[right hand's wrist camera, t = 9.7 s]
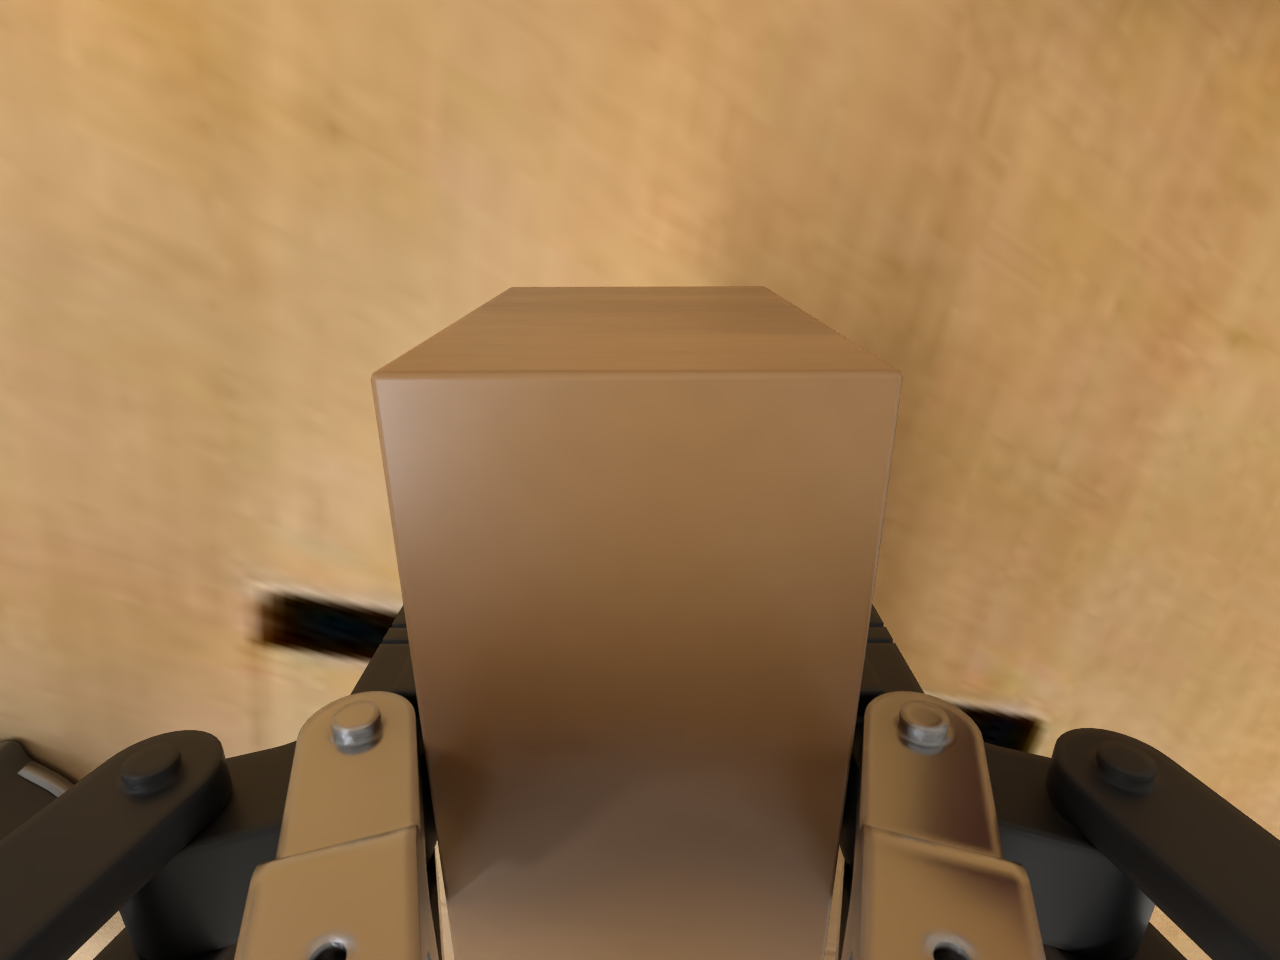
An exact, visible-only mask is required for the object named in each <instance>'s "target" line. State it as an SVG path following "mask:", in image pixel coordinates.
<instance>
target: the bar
mask: <svg viewBox="0 0 1280 960" xmlns="http://www.w3.org/2000/svg"><path fill="white" fill-rule="evenodd" d="M371 383H372V390H373V397H374V404H375V411H376V418H377V425H378V432H379V439H380V445H381V452H382V459H383V466H384V473H385V480H386V487H387V494H388V501H389V508H390V515H391V522H392V528H393V535H394V542H395V549H396V556H397V563H398V570H399V577H400V584H401V591H402V598H403V605H404V611H405V618H406V625H407V632H408V639H409V646H410V653H411V660H412V667H413V674H414V681H415V688H416V694H417V701H418V708H419V715H420V722H421V729H422V736H423V743H424V750H425V757H426V764H427V771H428V777H429V784H430V791H431V798H432V805H433V812H434V819H435V826H436V833H437V840H438V847H439V854H440V860H441V867H442V874H443V881H444V888H445V895H446V902H447V909H448V916H449V923H450V930H451V937H452V944H453V950H454V957H455V960H824V954H825V947H826V939H827V932H828V925H829V917H830V910H831V902H832V895H833V888H834V880H835V873H836V865H837V858H838V851H839V843H840V836H841V829H842V821H843V814H844V806H845V799H846V792H847V784H848V777H849V769H850V762H851V755H852V747H853V740H854V733H855V725H856V718H857V710H858V703H859V696H860V688H861V681H862V673H863V666H864V659H865V651H866V644H867V637H868V629H869V622H870V614H871V607H872V600H873V592H874V585H875V577H876V570H877V563H878V555H879V548H880V541H881V533H882V526H883V518H884V511H885V504H886V496H887V489H888V481H889V474H890V467H891V459H892V452H893V445H894V437H895V430H896V422H897V415H898V408H899V400H900V393H901V385H902V374H901V372H900V371H899V370H897V369H895V368H894V367H892V366H891V365H889V364H887V363H886V362H884V361H883V360H881V359H879V358H878V357H876V356H875V355H873V354H871V353H870V352H868V351H867V350H865V349H863V348H862V347H860V346H859V345H857V344H855V343H854V342H852V341H851V340H849V339H847V338H846V337H844V336H843V335H841V334H839V333H838V332H836V331H835V330H833V329H831V328H830V327H828V326H827V325H825V324H823V323H822V322H820V321H819V320H817V319H816V318H814V317H812V316H811V315H809V314H808V313H806V312H804V311H803V310H801V309H800V308H798V307H796V306H795V305H793V304H792V303H790V302H788V301H787V300H785V299H784V298H782V297H780V296H779V295H777V294H776V293H774V292H772V291H771V290H769V289H768V288H766V287H763V286H758V287H512V288H509V289H508V290H506V291H505V292H503V293H501V294H500V295H498V296H497V297H495V298H493V299H492V300H490V301H489V302H487V303H485V304H484V305H482V306H480V307H479V308H477V309H476V310H474V311H472V312H471V313H469V314H468V315H466V316H464V317H463V318H461V319H460V320H458V321H456V322H455V323H453V324H451V325H450V326H448V327H447V328H445V329H443V330H442V331H440V332H439V333H437V334H435V335H434V336H432V337H431V338H429V339H427V340H426V341H424V342H422V343H421V344H419V345H418V346H416V347H414V348H413V349H411V350H410V351H408V352H406V353H405V354H403V355H402V356H400V357H398V358H397V359H395V360H393V361H392V362H390V363H389V364H387V365H385V366H384V367H382V368H381V369H379V370H377V371H376V372H374V373H373V374H372V378H371Z"/></svg>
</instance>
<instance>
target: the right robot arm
mask: <svg viewBox="0 0 1280 960" xmlns="http://www.w3.org/2000/svg"><path fill="white" fill-rule="evenodd" d="M436 842H437V833H436V826H435V819H434V812H433V805H432V798H431V791H430V784H429V777H428V771H427V764H426V757H425V750H424V743H423V736H422V729H421V722H420V715H419V708H418V701H417V694H416V688H415V681H414V674H413V667H412V660H411V653H410V646H409V639H408V632H407V625H406V618H405V611H404V605H403V606H402V608H401V610H400V612H399V613H398V615H397V617H396V618H395V620H394V622H393V623H392V628H389V630H388V632H387V634H386V635H385V637H384V639H383V644H380V645H379V647H378V649H377V651H376V652H375V654H374V656H373V657H372V659H371V661H370V662H369V664H368V666H367V667H366V669H365V671H364V673H363V674H362V676H361V678H360V679H359V681H358V683H357V684H356V686H355V688H354V690H353V691H352V693H351V695H349V696H346V697H343V698H340V699H338V700H336V701H334V702H331V703H330V704H328V705H326V706H324V707H323V708H321V709H320V710H319V711H317V712H316V713H315V714H313V715H312V716H311V717H310V718H309V719H308V720H307V721H306V723H305V724H304V725H303V727H302V728H301V730H300V732H299V735H298V738H297V741H294V742H292V743H289V744H286V745H283V746H279V747H275V748H272V749H267V750H263V751H258V752H254V753H249V754H245V755H240V756H236V757H231V758H227V759H225V755H224V751H223V748H222V745H221V742H220V741H219V740H218V739H217V738H216V737H215V736H213V735H212V734H209V733H206V732H203V731H196V730H183V731H174V732H169V733H165V734H161V735H157V736H154V737H151V738H148V739H146V740H143V741H140V742H138V743H136V744H134V745H132V746H130V747H128V748H126V749H124V750H123V751H121V752H119V753H117V754H116V755H114V756H113V757H111V758H110V759H109V760H107V761H106V762H104V763H103V764H102V765H100V766H99V767H98V768H96V769H95V770H94V771H92V772H91V773H90V774H88V775H87V776H86V777H84V778H83V779H82V780H80V781H79V782H78V783H76V784H75V785H74V784H73V783H71V782H70V781H69V780H67V779H66V778H64V777H63V776H61V775H59V774H58V773H56V772H54V771H52V770H51V769H49V768H47V767H45V766H42V765H40V764H38V763H36V762H35V761H33V760H32V759H31V758H30V757H29V756H28V755H27V754H26V752H25V751H24V749H23V748H22V746H21V745H20V744H19V743H18V742H16V741H12V740H9V741H4V742H0V960H68V959H69V958H70V957H71V956H72V955H73V954H74V953H75V952H76V951H77V950H78V949H79V948H80V947H81V946H82V945H83V944H84V943H85V942H86V941H87V940H88V939H89V938H91V937H92V936H93V935H94V934H95V933H96V932H97V931H98V930H99V929H100V928H101V927H102V926H103V925H104V924H105V923H106V922H107V921H108V920H109V919H110V918H111V917H112V916H113V915H114V914H115V913H116V912H117V911H118V910H119V911H120V914H121V916H122V919H123V922H124V924H125V928H124V929H123V930H122V931H121V932H120V933H119V934H118V935H117V936H116V937H115V938H114V939H113V940H112V941H111V942H110V943H109V944H108V945H107V946H106V947H105V948H104V949H103V950H102V951H101V952H100V953H99V954H98V955H97V956H96V957H95V958H94V959H93V960H444V949H443V934H442V920H441V905H440V890H439V876H438V867H437V860H436V853H435V845H436ZM839 844H840V847H841V851H842V854H843V856H844V860H843V867H842V876H841V890H840V905H839V919H838V934H837V948H836V960H1187V959H1186V958H1185V957H1184V956H1183V955H1182V954H1181V953H1180V952H1179V951H1178V950H1177V949H1176V948H1175V947H1174V946H1173V945H1172V944H1171V943H1170V942H1169V941H1168V940H1167V939H1166V938H1165V937H1164V936H1163V935H1162V934H1161V933H1160V932H1159V931H1158V930H1157V929H1156V928H1155V927H1154V926H1153V925H1152V924H1151V923H1150V922H1149V920H1150V917H1151V915H1152V912H1153V910H1154V907H1155V905H1156V906H1157V907H1158V908H1159V909H1160V910H1162V911H1163V912H1164V913H1165V914H1166V915H1167V916H1168V917H1169V918H1170V919H1171V920H1172V921H1173V922H1174V923H1175V924H1176V925H1177V926H1178V927H1179V928H1180V929H1181V930H1182V931H1183V932H1184V933H1185V934H1186V935H1187V936H1188V937H1189V938H1191V939H1192V940H1193V941H1194V942H1195V943H1196V944H1197V945H1198V946H1199V947H1200V948H1201V949H1202V950H1203V951H1204V952H1205V953H1206V954H1207V955H1208V956H1209V957H1210V958H1211V959H1212V960H1280V840H1278V839H1277V838H1276V837H1274V836H1273V835H1272V834H1270V833H1269V832H1268V831H1266V830H1265V829H1264V828H1262V827H1261V826H1260V825H1258V824H1257V823H1256V822H1254V821H1253V820H1252V819H1250V818H1249V817H1248V816H1246V815H1245V814H1244V813H1242V812H1241V811H1240V810H1238V809H1237V808H1236V807H1234V806H1233V805H1232V804H1230V803H1229V802H1228V801H1226V800H1225V799H1224V798H1222V797H1221V796H1220V795H1218V794H1217V793H1216V792H1214V791H1213V790H1212V789H1210V788H1209V787H1208V786H1206V785H1205V784H1204V783H1202V782H1201V781H1200V780H1198V779H1197V778H1196V777H1194V776H1193V775H1192V774H1190V773H1189V772H1188V771H1186V770H1185V769H1184V768H1182V767H1181V766H1180V765H1178V764H1177V763H1176V762H1174V761H1173V760H1172V759H1170V758H1169V757H1167V756H1166V755H1164V754H1163V753H1162V752H1160V751H1158V750H1157V749H1155V748H1153V747H1151V746H1150V745H1148V744H1146V743H1143V742H1141V741H1139V740H1137V739H1135V738H1132V737H1129V736H1127V735H1124V734H1120V733H1117V732H1113V731H1108V730H1103V729H1095V728H1081V729H1074V730H1071V731H1068V732H1066V733H1064V734H1062V735H1061V736H1060V737H1059V738H1058V739H1057V741H1056V744H1055V747H1054V751H1053V754H1052V758H1048V757H1044V756H1039V755H1035V754H1030V753H1026V752H1021V751H1017V750H1013V749H1008V748H1004V747H999V746H996V745H992V744H989V743H986V742H983V738H982V735H981V732H980V730H979V728H978V727H977V725H976V724H975V723H974V721H973V720H972V719H971V718H970V717H969V716H968V715H967V714H965V713H964V712H963V711H961V710H960V709H959V708H957V707H956V706H954V705H952V704H950V703H949V702H946V701H944V700H942V699H940V698H937V697H934V696H931V695H927V694H924V692H923V690H922V689H921V687H920V685H919V684H918V682H917V680H916V678H915V677H914V675H913V673H912V672H911V670H910V668H909V666H908V665H907V663H906V661H905V659H904V658H903V656H902V654H901V653H900V651H899V649H898V647H897V646H896V644H895V643H893V639H892V637H891V635H890V634H889V632H888V630H887V628H886V627H884V626H883V622H882V620H881V618H880V616H879V615H878V613H877V611H876V610H875V608H874V606H873V604H872V607H871V614H870V622H869V629H868V637H867V644H866V651H865V659H864V666H863V673H862V681H861V688H860V696H859V703H858V710H857V718H856V725H855V733H854V740H853V747H852V755H851V762H850V769H849V777H848V784H847V792H846V799H845V806H844V814H843V821H842V829H841V836H840V843H839Z"/></svg>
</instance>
